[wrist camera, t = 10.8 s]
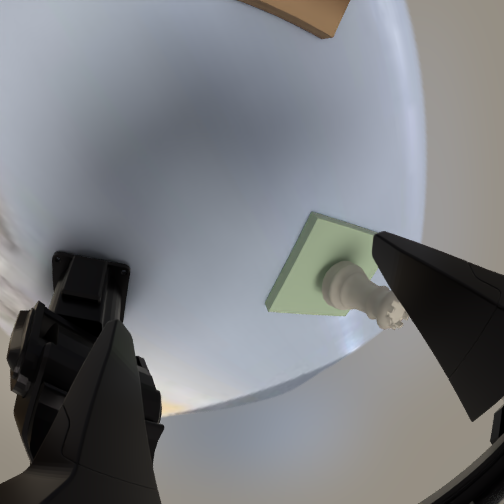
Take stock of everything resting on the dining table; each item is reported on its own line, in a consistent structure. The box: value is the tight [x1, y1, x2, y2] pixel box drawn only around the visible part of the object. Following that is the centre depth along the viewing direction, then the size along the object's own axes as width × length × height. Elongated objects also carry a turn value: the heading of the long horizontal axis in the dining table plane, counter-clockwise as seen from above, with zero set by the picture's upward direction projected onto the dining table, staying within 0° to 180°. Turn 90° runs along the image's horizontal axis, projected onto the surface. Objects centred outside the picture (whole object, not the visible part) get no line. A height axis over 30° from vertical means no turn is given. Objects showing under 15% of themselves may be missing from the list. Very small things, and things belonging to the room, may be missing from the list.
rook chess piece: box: [322, 261, 409, 330], centre depth 22 cm, size 4×4×8 cm
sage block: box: [265, 212, 378, 316], centre depth 27 cm, size 10×10×2 cm
